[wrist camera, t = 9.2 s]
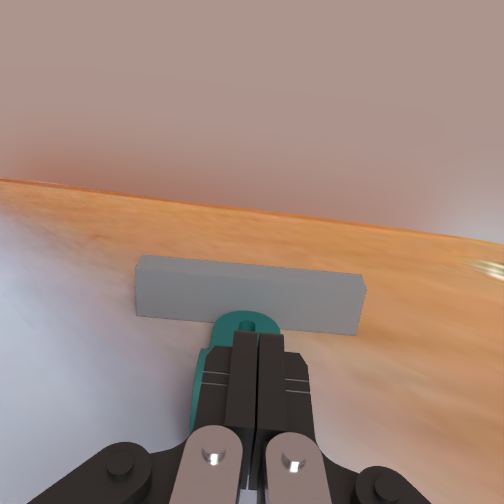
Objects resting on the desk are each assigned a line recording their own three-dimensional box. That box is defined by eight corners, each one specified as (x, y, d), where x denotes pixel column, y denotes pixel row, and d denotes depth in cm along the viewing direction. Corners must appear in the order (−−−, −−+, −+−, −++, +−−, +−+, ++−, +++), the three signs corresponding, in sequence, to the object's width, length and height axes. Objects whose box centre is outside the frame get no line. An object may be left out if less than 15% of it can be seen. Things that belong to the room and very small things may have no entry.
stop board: (136, 315, 50) (134, 268, 47) (143, 300, 53) (141, 254, 50) (355, 335, 50) (366, 289, 47) (351, 319, 53) (361, 274, 50)
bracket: (278, 479, 34) (291, 403, 31) (188, 470, 34) (190, 393, 31) (277, 330, 50) (286, 268, 47) (216, 324, 50) (219, 262, 47)
